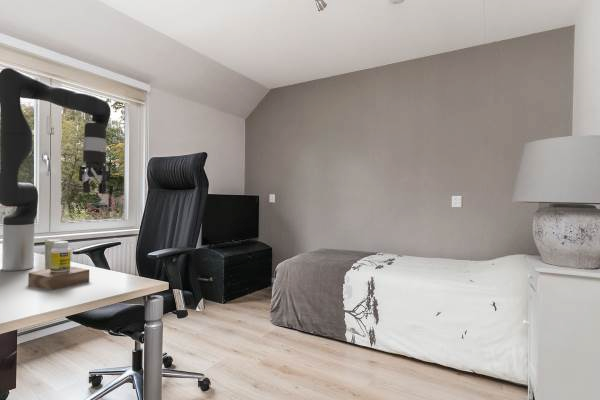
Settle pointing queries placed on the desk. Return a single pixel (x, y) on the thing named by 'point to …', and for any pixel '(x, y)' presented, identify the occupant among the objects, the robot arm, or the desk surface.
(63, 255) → the supplement bottle
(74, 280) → the walnut plinth
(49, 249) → the skincare box
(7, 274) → the desk surface
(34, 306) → the desk surface
